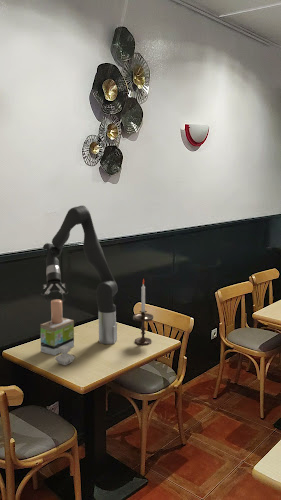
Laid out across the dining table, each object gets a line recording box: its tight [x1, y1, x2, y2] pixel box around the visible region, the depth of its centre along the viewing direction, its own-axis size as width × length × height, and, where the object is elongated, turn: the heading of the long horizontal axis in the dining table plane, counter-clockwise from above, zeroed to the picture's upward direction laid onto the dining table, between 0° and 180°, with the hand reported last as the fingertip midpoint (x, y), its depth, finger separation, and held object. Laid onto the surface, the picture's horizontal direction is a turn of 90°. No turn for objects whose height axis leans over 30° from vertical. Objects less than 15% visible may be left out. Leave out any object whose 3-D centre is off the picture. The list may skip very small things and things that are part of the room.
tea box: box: [40, 317, 75, 357], centre depth 238 cm, size 15×10×15 cm
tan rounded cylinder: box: [50, 298, 64, 324], centre depth 236 cm, size 6×6×11 cm
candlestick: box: [132, 278, 154, 346], centre depth 246 cm, size 11×11×35 cm
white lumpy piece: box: [54, 345, 75, 366], centre depth 221 cm, size 9×7×8 cm
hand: (55, 301), depth 245 cm, fingers open, 8 cm apart
